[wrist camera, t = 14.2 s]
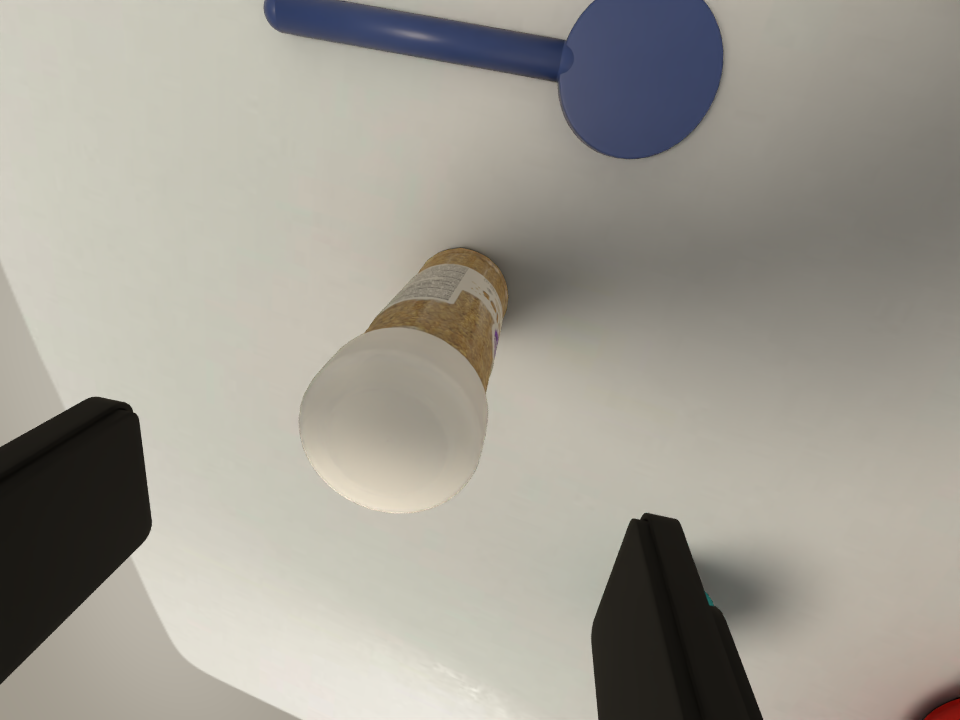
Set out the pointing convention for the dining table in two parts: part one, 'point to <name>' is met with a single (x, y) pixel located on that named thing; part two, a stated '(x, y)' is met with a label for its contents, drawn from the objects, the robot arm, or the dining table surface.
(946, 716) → the ceramic cup
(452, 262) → the sprinkles bottle
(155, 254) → the dining table surface
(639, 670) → the robot arm
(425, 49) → the round blue paddle
